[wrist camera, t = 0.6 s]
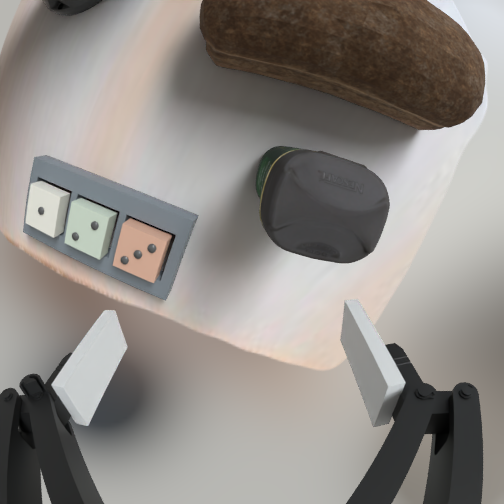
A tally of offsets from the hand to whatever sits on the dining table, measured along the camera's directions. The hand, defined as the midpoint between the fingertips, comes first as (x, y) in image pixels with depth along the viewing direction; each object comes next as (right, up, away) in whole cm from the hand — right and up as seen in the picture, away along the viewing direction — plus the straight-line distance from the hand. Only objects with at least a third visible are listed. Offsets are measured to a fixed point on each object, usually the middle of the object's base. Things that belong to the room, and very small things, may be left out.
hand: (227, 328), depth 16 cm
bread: (+12, +30, +14) cm, 35 cm away
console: (-20, +9, +22) cm, 31 cm away
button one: (-27, +11, +19) cm, 35 cm away
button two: (-20, +8, +20) cm, 29 cm away
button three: (-12, +5, +21) cm, 25 cm away
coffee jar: (+7, +13, +21) cm, 25 cm away
